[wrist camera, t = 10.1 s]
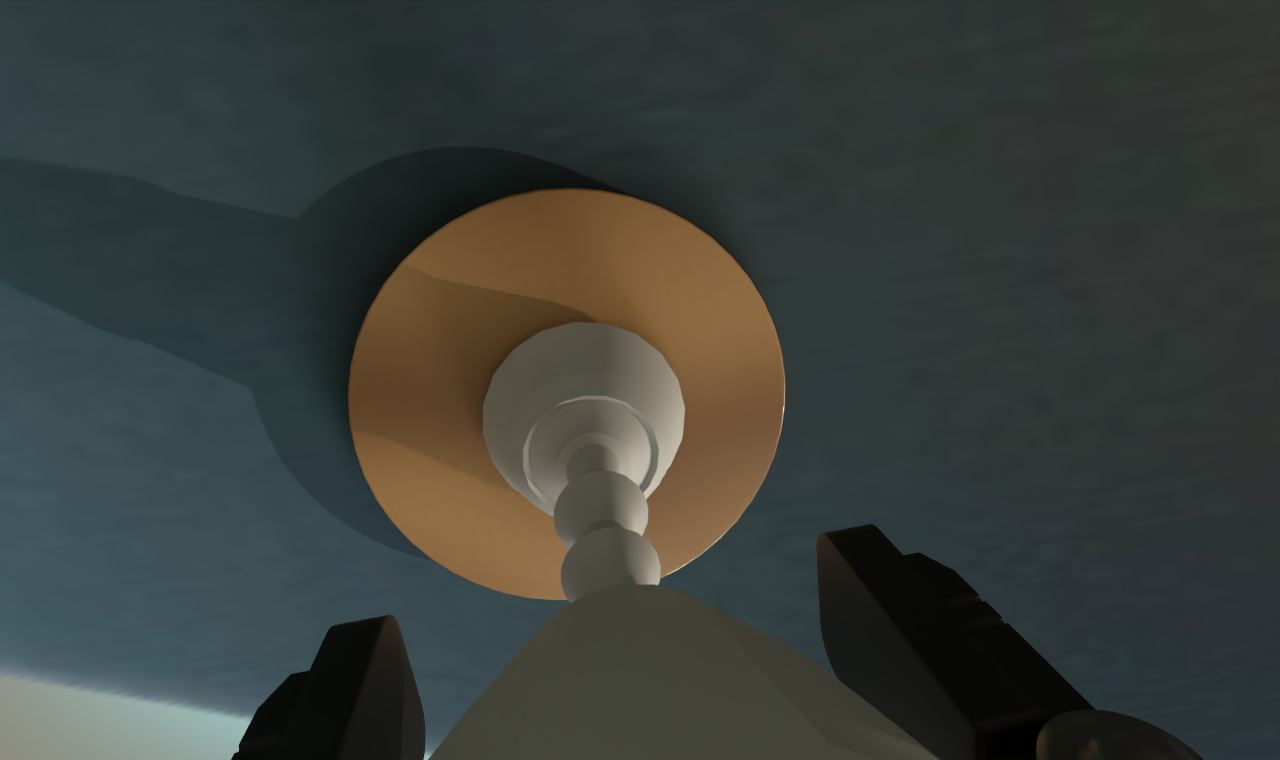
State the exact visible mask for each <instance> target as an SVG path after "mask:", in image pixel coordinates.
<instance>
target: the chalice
mask: <svg viewBox="0 0 1280 760" xmlns="http://www.w3.org/2000/svg"><path fill="white" fill-rule="evenodd" d="M684 416H685V406H684V402H683V398H682V393H681V389H680V385H679V381H678V379H677V377H676V376H675V374H674V372H673V371H672V369H671V368H670V366H669V365H668V363H667V361H666V360H665V358H664V357H663V355H662V354H661V353H660V352H659V351H657V350H656V349H655V348H654V347H652V346H651V345H650V344H649V343H647V342H646V341H645V340H643V339H642V338H641V337H640V336H638V335H637V334H635V333H632V332H629V331H626V330H624V329H621V328H618V327H616V326H613V325H610V324H607V323H587V322H572V323H568V324H564V325H561V326H557V327H554V328H550V329H546V330H543V331H540V332H539V333H537V334H536V335H534V336H533V337H531V338H530V339H528V340H527V341H525V342H524V343H522V344H521V345H519V346H518V347H516V348H515V349H513V350H512V352H511V353H510V354H509V355H508V357H507V358H506V359H505V361H504V362H503V363H502V364H501V366H500V367H499V368H498V369H497V371H496V372H495V373H494V375H493V377H492V380H491V383H490V386H489V389H488V391H487V394H486V397H485V400H484V403H483V437H484V440H485V443H486V445H487V448H488V451H489V454H490V457H491V460H492V462H493V464H494V466H495V467H496V468H497V470H498V471H499V472H500V473H501V475H502V476H503V477H504V478H505V480H506V481H507V482H508V483H509V485H510V486H511V487H512V488H513V489H515V490H516V491H518V492H519V493H520V494H521V495H522V496H523V497H525V498H526V499H528V500H529V502H530V503H532V504H533V505H535V506H536V507H538V508H539V509H541V510H542V511H544V512H545V513H547V514H548V515H550V516H553V517H554V526H555V529H556V532H557V536H558V537H559V539H560V540H561V541H562V543H563V544H564V545H565V547H566V548H568V549H569V551H568V552H567V553H566V556H565V558H564V561H563V564H562V566H561V585H562V588H563V591H564V594H565V597H566V598H567V599H568V600H569V602H570V603H571V604H569V605H568V606H566V607H565V608H563V609H562V610H560V611H559V612H557V613H556V614H554V615H553V616H552V617H551V618H550V619H549V620H548V621H547V622H546V623H545V624H544V625H543V627H542V628H541V629H540V630H539V631H538V632H537V633H536V634H535V635H534V637H533V638H532V639H531V640H530V641H529V642H528V643H527V644H526V646H525V647H524V648H523V649H522V650H521V651H520V652H519V653H518V654H517V656H516V657H515V658H514V659H513V660H512V661H511V662H510V663H509V664H508V666H507V667H506V668H505V669H504V670H503V671H502V672H501V673H500V674H499V676H498V677H497V678H496V679H495V680H494V681H493V682H492V683H491V684H490V686H489V687H488V688H487V689H486V690H485V691H484V692H483V693H482V694H481V696H480V697H479V698H478V699H477V700H476V701H475V702H474V703H473V704H472V706H471V707H470V708H469V709H468V710H467V711H466V713H465V714H464V715H463V716H462V718H461V719H460V720H459V721H458V723H457V724H456V725H455V726H454V728H453V729H452V730H451V731H450V733H449V734H448V735H447V737H446V738H445V739H444V740H443V742H442V743H441V744H440V745H439V747H438V748H437V749H436V750H435V752H434V753H433V754H432V755H431V757H430V758H429V759H428V760H941V759H939V758H938V757H937V756H935V755H934V754H933V753H932V752H930V751H929V750H928V749H926V748H925V747H924V746H923V745H921V744H920V743H919V742H918V741H916V740H915V739H914V738H912V737H911V736H910V735H909V734H907V733H906V732H905V731H904V730H902V729H901V728H900V727H898V726H897V725H896V724H895V723H893V722H892V721H891V720H890V719H888V718H887V717H886V716H884V715H883V714H882V713H881V712H879V711H878V710H877V709H875V708H874V707H873V706H872V705H870V704H869V703H868V702H867V701H865V700H864V699H863V698H861V697H860V696H859V695H858V694H856V693H855V692H854V691H852V690H851V689H850V688H848V687H847V686H846V685H844V684H843V683H842V682H840V681H839V680H838V679H836V678H835V677H834V676H832V675H831V674H830V673H828V672H827V671H826V670H824V669H823V668H822V667H820V666H819V665H818V664H816V663H815V662H814V661H812V660H811V659H810V658H808V657H807V656H806V655H804V654H803V653H802V652H800V651H798V650H796V649H794V648H792V647H790V646H788V645H786V644H784V643H782V642H780V641H778V640H776V639H774V638H772V637H770V636H768V635H766V634H764V633H762V632H760V631H758V630H756V629H754V628H752V627H750V626H748V625H746V624H744V623H742V622H740V621H738V620H737V619H735V618H733V617H731V616H729V615H727V614H725V613H723V612H721V611H719V610H717V609H715V608H713V607H711V606H709V605H707V604H705V603H703V602H701V601H699V600H697V599H695V598H693V597H691V596H689V595H687V594H684V593H681V592H678V591H674V590H671V589H668V588H664V587H661V586H658V584H659V581H660V570H661V566H660V562H659V558H658V555H657V552H656V551H655V549H654V548H653V546H652V545H651V543H650V542H649V541H648V540H647V539H645V538H644V537H642V535H643V533H644V530H645V528H646V525H647V522H648V506H647V502H646V499H647V498H648V497H649V496H650V495H651V493H652V492H653V491H654V490H655V489H656V488H657V486H658V485H659V484H660V482H661V480H662V478H663V476H664V475H665V473H666V471H667V469H668V468H669V467H670V466H671V464H672V461H673V459H674V457H675V454H676V452H677V450H678V447H679V445H680V443H681V440H682V438H683V427H684Z"/></svg>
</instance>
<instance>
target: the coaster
mask: <svg viewBox="0 0 1280 760" xmlns="http://www.w3.org/2000/svg"><path fill="white" fill-rule="evenodd" d="M572 322H587V323H607V324H610V325H613V326H616V327H618V328H621V329H624V330H626V331H629V332H632V333H635V334H637V335H638V336H640V337H641V338H642V339H643V340H645V341H646V342H647V343H649V344H650V345H651V346H652V347H654V348H655V349H656V350H657V351H659V352H660V353H661V354H662V355H663V357H664V358H665V360H666V361H667V363H668V365H669V366H670V368H671V369H672V371H673V372H674V374H675V376H676V377H677V379H678V381H679V385H680V389H681V393H682V398H683V402H684V406H685V416H684V427H683V438H682V440H681V443H680V445H679V447H678V450H677V452H676V454H675V457H674V459H673V461H672V464H671V466H670V467H669V468H668V469H667V471H666V473H665V475H664V476H663V478H662V480H661V482H660V484H659V485H658V486H657V488H656V489H655V490H654V491H653V492H652V493H651V495H650V496H649V497H648V498H647V499H646V502H647V506H648V522H647V525H646V528H645V530H644V533H643V535H642V537H644V538H645V539H647V540H648V541H649V542H650V543H651V545H652V546H653V548H654V549H655V551H656V552H657V555H658V558H659V562H660V566H661V570H660V578H662V577H664V576H666V575H668V574H670V573H672V572H674V571H676V570H678V569H680V568H681V567H683V566H684V565H686V564H687V563H689V562H691V561H692V560H694V559H695V558H697V557H698V556H700V555H701V554H702V553H703V552H705V551H706V550H707V549H708V548H709V547H711V546H712V545H713V544H714V543H715V542H717V541H718V540H719V539H720V538H721V537H722V536H723V535H724V534H725V533H726V532H727V531H728V530H729V529H730V527H731V526H732V525H733V524H734V523H735V522H736V521H737V520H738V519H739V517H740V516H741V515H742V513H743V512H744V511H745V509H746V508H747V507H748V505H749V504H750V503H751V501H752V500H753V498H754V496H755V494H756V493H757V491H758V489H759V488H760V486H761V484H762V482H763V481H764V479H765V477H766V474H767V472H768V469H769V467H770V465H771V462H772V460H773V457H774V455H775V451H776V448H777V444H778V441H779V437H780V433H781V429H782V422H783V415H784V408H785V374H784V366H783V358H782V352H781V348H780V344H779V341H778V337H777V333H776V329H775V326H774V324H773V322H772V319H771V317H770V314H769V312H768V310H767V307H766V305H765V303H764V301H763V299H762V298H761V296H760V294H759V293H758V291H757V289H756V288H755V286H754V284H753V283H752V281H751V279H750V278H749V277H748V275H747V274H746V273H745V272H744V270H743V269H742V268H741V267H740V266H739V264H738V263H737V262H736V261H735V259H734V258H733V257H732V256H731V255H730V254H729V253H728V252H727V251H726V250H725V249H724V248H723V247H721V246H720V245H719V244H718V243H717V242H716V241H715V240H714V239H713V238H712V237H710V236H709V235H708V234H706V233H705V232H703V231H702V230H701V229H699V228H698V227H696V226H695V225H693V224H692V223H691V222H689V221H688V220H686V219H684V218H682V217H680V216H678V215H676V214H674V213H672V212H670V211H669V210H667V209H665V208H663V207H661V206H658V205H655V204H652V203H649V202H647V201H644V200H641V199H638V198H635V197H633V196H629V195H625V194H620V193H615V192H610V191H605V190H601V189H587V188H573V187H568V188H552V189H539V190H534V191H529V192H524V193H519V194H514V195H509V196H506V197H504V198H501V199H498V200H495V201H492V202H489V203H486V204H484V205H481V206H479V207H477V208H475V209H473V210H471V211H469V212H467V213H465V214H463V215H461V216H459V217H457V218H455V219H453V220H452V221H450V222H449V223H447V224H446V225H444V226H443V227H442V228H440V229H439V230H437V231H436V232H435V233H433V234H432V235H430V236H429V237H427V238H426V239H425V240H424V241H423V242H421V243H420V244H419V245H418V246H417V247H416V248H415V249H414V250H413V251H412V252H411V253H410V254H409V255H408V256H407V257H405V258H404V259H403V260H402V261H401V263H400V264H399V265H398V266H397V268H396V269H395V270H394V271H393V273H392V274H391V275H390V276H389V278H388V279H387V280H386V281H385V283H384V284H383V286H382V287H381V289H380V291H379V292H378V294H377V296H376V298H375V299H374V301H373V303H372V304H371V306H370V308H369V309H368V312H367V314H366V317H365V319H364V321H363V324H362V326H361V329H360V331H359V334H358V336H357V340H356V344H355V348H354V352H353V356H352V360H351V364H350V373H349V383H348V412H349V424H350V429H351V434H352V439H353V444H354V449H355V452H356V455H357V458H358V461H359V463H360V466H361V469H362V472H363V475H364V477H365V479H366V481H367V482H368V484H369V486H370V488H371V490H372V492H373V494H374V496H375V498H376V500H377V501H378V503H379V504H380V505H381V507H382V508H383V510H384V511H385V512H386V514H387V515H388V517H389V518H390V519H391V521H392V522H393V523H394V524H395V525H396V526H397V527H398V529H399V530H400V531H401V532H402V533H403V534H404V535H405V536H406V537H407V538H408V539H409V540H410V541H411V542H412V543H413V544H414V545H415V546H417V547H418V548H419V549H420V550H422V551H423V552H424V553H425V554H426V555H428V556H429V557H430V558H431V559H433V560H434V561H436V562H438V563H439V564H441V565H442V566H444V567H445V568H447V569H449V570H450V571H452V572H453V573H455V574H458V575H460V576H462V577H464V578H466V579H468V580H470V581H472V582H474V583H477V584H479V585H482V586H485V587H488V588H491V589H494V590H497V591H500V592H503V593H508V594H513V595H518V596H522V597H527V598H537V599H548V600H568V599H567V598H566V597H565V594H564V591H563V588H562V585H561V566H562V564H563V561H564V558H565V556H566V553H567V552H568V551H569V549H568V548H566V547H565V545H564V544H563V543H562V541H561V540H560V539H559V537H558V536H557V532H556V529H555V526H554V517H553V516H550V515H548V514H547V513H545V512H544V511H542V510H541V509H539V508H538V507H536V506H535V505H533V504H532V503H530V502H529V500H528V499H526V498H525V497H523V496H522V495H521V494H520V493H519V492H518V491H516V490H515V489H513V488H512V487H511V486H510V485H509V483H508V482H507V481H506V480H505V478H504V477H503V476H502V475H501V473H500V472H499V471H498V470H497V468H496V467H495V466H494V464H493V462H492V460H491V457H490V454H489V451H488V448H487V445H486V443H485V440H484V437H483V403H484V400H485V397H486V394H487V391H488V389H489V386H490V383H491V380H492V377H493V375H494V373H495V372H496V371H497V369H498V368H499V367H500V366H501V364H502V363H503V362H504V361H505V359H506V358H507V357H508V355H509V354H510V353H511V352H512V350H513V349H515V348H516V347H518V346H519V345H521V344H522V343H524V342H525V341H527V340H528V339H530V338H531V337H533V336H534V335H536V334H537V333H539V332H540V331H543V330H546V329H550V328H554V327H557V326H561V325H564V324H568V323H572Z"/></svg>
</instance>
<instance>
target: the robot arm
mask: <svg viewBox="0 0 1280 760" xmlns="http://www.w3.org/2000/svg"><path fill="white" fill-rule="evenodd" d="M817 568H818V586H819V605H820V623H821V632H822V637H823V642H824V646H825V649H826V653H827V656H828V659H829V661H830V664H831V666H832V668H833V670H834V672H835V674H836V676H837V678H838V680H839V681H840V682H842V683H843V684H844V685H846V686H847V687H848V688H850V689H851V690H852V691H854V692H855V693H856V694H858V695H859V696H860V697H861V698H863V699H864V700H865V701H867V702H868V703H869V704H870V705H872V706H873V707H874V708H875V709H877V710H878V711H879V712H881V713H882V714H883V715H884V716H886V717H887V718H888V719H890V720H891V721H892V722H893V723H895V724H896V725H897V726H898V727H900V728H901V729H902V730H904V731H905V732H906V733H907V734H909V735H910V736H911V737H912V738H914V739H915V740H916V741H918V742H919V743H920V744H921V745H923V746H924V747H925V748H926V749H928V750H929V751H930V752H932V753H933V754H934V755H935V756H937V757H938V758H939V759H941V760H1203V759H1202V758H1201V757H1200V756H1199V755H1198V754H1197V753H1196V752H1194V751H1193V750H1192V749H1191V748H1190V747H1188V746H1187V745H1186V744H1184V743H1183V742H1181V741H1180V740H1179V739H1177V738H1176V737H1174V736H1172V735H1171V734H1169V733H1167V732H1166V731H1164V730H1162V729H1160V728H1158V727H1156V726H1154V725H1152V724H1149V723H1147V722H1145V721H1142V720H1139V719H1137V718H1134V717H1131V716H1127V715H1123V714H1120V713H1116V712H1110V711H1104V710H1096V709H1095V708H1094V707H1093V706H1092V705H1090V704H1089V703H1088V702H1087V701H1086V700H1085V699H1084V698H1083V697H1082V696H1081V695H1080V694H1079V693H1078V692H1077V691H1076V690H1075V689H1074V688H1073V687H1072V686H1071V685H1070V684H1069V683H1068V682H1067V681H1066V680H1065V679H1064V678H1063V677H1062V676H1061V675H1060V674H1059V673H1058V672H1057V671H1056V670H1055V669H1054V668H1053V667H1052V666H1051V665H1050V664H1049V663H1048V662H1047V661H1046V660H1045V659H1044V658H1043V657H1042V656H1041V655H1040V654H1039V653H1038V652H1037V651H1036V650H1035V649H1034V648H1033V647H1032V646H1031V645H1030V644H1029V643H1028V642H1027V641H1026V640H1024V639H1023V638H1022V637H1021V636H1020V635H1019V634H1018V633H1017V632H1016V631H1015V630H1014V629H1013V628H1012V627H1011V626H1010V625H1009V624H1008V623H1006V624H1004V622H1003V620H1002V617H1001V616H1000V615H999V614H998V613H997V612H996V611H995V610H994V609H993V608H992V607H991V606H990V605H989V604H988V603H987V602H986V601H984V602H982V600H981V597H980V595H979V594H978V593H977V592H976V591H975V590H974V589H973V588H972V587H971V586H970V585H969V584H968V583H967V582H966V581H965V580H964V579H963V578H962V577H961V576H960V575H958V574H957V573H956V572H955V571H954V570H952V569H950V568H948V567H946V566H944V565H942V564H940V563H939V562H937V561H935V560H933V559H931V558H929V557H927V556H925V555H923V554H921V553H914V554H909V555H904V556H903V555H902V554H901V552H900V551H899V550H898V549H897V548H896V547H895V546H894V545H893V544H892V543H891V542H890V541H889V539H888V538H887V537H886V536H885V535H884V534H883V533H882V532H881V531H880V530H879V529H878V528H877V527H876V526H874V525H872V524H869V525H864V526H858V527H853V528H848V529H843V530H837V531H832V532H827V533H822V534H820V535H819V536H818V539H817ZM424 753H425V721H424V713H423V708H422V704H421V700H420V697H419V693H418V690H417V686H416V683H415V679H414V676H413V672H412V669H411V665H410V662H409V658H408V655H407V652H406V648H405V645H404V641H403V638H402V634H401V631H400V628H399V625H398V623H397V621H396V619H395V618H394V617H393V616H392V615H386V616H381V617H375V618H370V619H365V620H360V621H354V622H349V623H344V624H339V625H334V626H332V627H331V628H330V629H329V630H328V632H327V634H326V636H325V638H324V640H323V642H322V645H321V647H320V649H319V651H318V653H317V655H316V658H315V660H314V662H313V664H312V666H311V669H310V671H305V672H300V673H295V674H291V675H290V676H289V677H288V678H287V679H286V680H285V681H284V682H283V683H282V684H281V685H280V686H279V687H278V688H277V689H276V690H275V691H274V692H273V693H272V694H271V695H270V696H269V697H268V698H267V700H266V701H265V702H264V703H263V704H262V705H261V706H260V707H259V708H258V709H257V711H256V713H255V715H254V717H253V719H252V721H251V723H250V725H249V726H248V728H247V730H246V732H245V734H244V736H243V738H242V740H241V742H240V744H239V752H237V753H234V755H233V757H232V759H231V760H423V759H424Z"/></svg>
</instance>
